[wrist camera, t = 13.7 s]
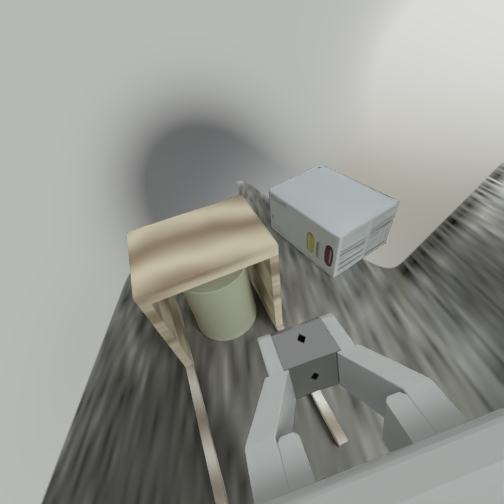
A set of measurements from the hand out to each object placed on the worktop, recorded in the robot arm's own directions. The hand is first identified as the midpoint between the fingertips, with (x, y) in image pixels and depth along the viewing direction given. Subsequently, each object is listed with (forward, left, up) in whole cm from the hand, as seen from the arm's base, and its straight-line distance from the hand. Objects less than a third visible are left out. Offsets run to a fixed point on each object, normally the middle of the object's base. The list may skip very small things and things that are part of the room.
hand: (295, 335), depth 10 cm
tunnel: (-3, -10, -25) cm, 27 cm away
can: (-8, -17, -25) cm, 31 cm away
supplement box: (-31, -12, -25) cm, 42 cm away
